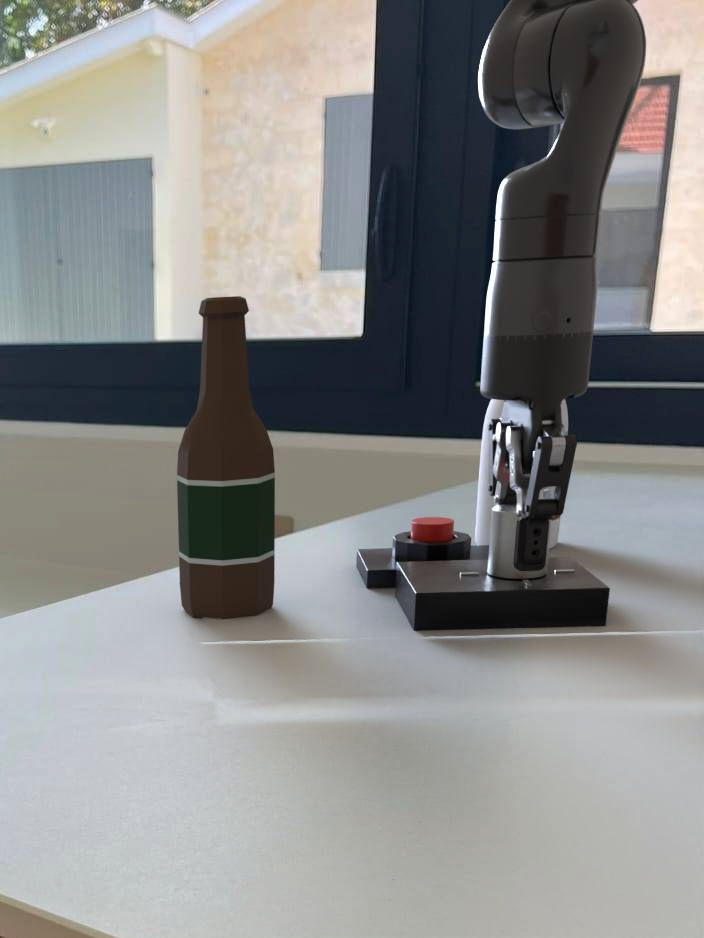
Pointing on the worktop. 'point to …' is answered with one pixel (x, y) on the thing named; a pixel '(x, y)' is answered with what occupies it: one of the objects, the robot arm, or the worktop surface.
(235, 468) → the beer bottle
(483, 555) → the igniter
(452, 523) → the button
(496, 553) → the burner knob
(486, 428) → the milk bottle
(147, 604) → the worktop surface
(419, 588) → the panel
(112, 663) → the worktop surface
